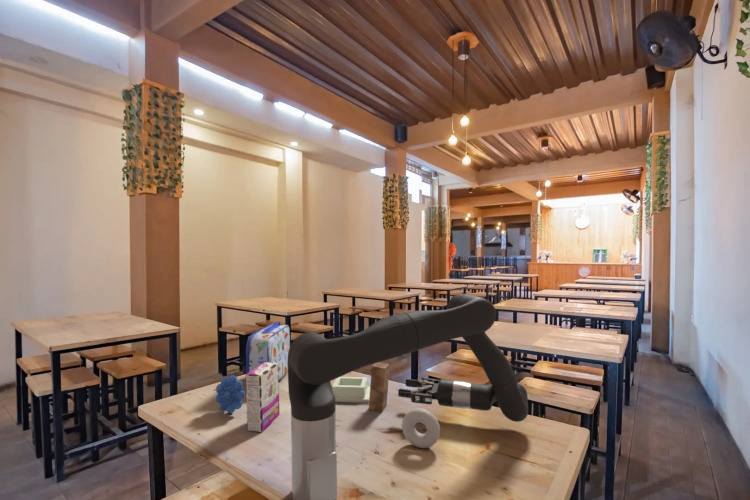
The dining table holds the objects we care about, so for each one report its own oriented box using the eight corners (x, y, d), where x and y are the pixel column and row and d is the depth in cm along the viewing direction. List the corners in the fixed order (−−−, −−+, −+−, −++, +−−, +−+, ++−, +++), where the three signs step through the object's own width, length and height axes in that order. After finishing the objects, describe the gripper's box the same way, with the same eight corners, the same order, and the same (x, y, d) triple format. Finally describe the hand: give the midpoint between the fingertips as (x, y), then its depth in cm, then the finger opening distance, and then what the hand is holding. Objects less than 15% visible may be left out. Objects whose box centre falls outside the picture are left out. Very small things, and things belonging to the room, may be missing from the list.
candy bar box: (265, 413, 115) (264, 361, 115) (280, 415, 114) (279, 362, 114) (245, 431, 104) (244, 373, 104) (261, 433, 103) (261, 374, 103)
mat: (378, 387, 136) (378, 386, 135) (374, 406, 120) (374, 405, 120) (329, 386, 137) (329, 385, 137) (319, 404, 121) (319, 403, 121)
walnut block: (386, 406, 119) (389, 364, 119) (382, 412, 115) (385, 368, 114) (373, 404, 120) (376, 361, 120) (368, 409, 116) (371, 366, 116)
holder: (372, 388, 134) (372, 376, 134) (368, 402, 122) (368, 389, 122) (334, 387, 135) (333, 375, 135) (326, 401, 123) (326, 387, 123)
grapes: (254, 410, 117) (254, 372, 117) (238, 419, 111) (238, 380, 111) (227, 404, 122) (226, 368, 122) (210, 413, 116) (209, 375, 116)
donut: (400, 447, 95) (400, 408, 95) (404, 440, 98) (403, 403, 98) (438, 454, 92) (438, 414, 92) (441, 447, 95) (441, 408, 95)
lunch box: (269, 369, 157) (268, 317, 157) (293, 369, 157) (292, 317, 156) (241, 395, 130) (241, 332, 130) (270, 395, 129) (270, 332, 129)
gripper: (457, 373, 116) (407, 368, 122) (452, 390, 103) (395, 383, 108) (458, 397, 116) (407, 390, 122) (452, 416, 103) (396, 408, 108)
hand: (402, 387), depth 115 cm, fingers open, 8 cm apart
